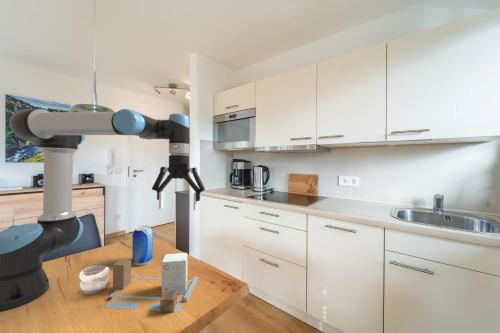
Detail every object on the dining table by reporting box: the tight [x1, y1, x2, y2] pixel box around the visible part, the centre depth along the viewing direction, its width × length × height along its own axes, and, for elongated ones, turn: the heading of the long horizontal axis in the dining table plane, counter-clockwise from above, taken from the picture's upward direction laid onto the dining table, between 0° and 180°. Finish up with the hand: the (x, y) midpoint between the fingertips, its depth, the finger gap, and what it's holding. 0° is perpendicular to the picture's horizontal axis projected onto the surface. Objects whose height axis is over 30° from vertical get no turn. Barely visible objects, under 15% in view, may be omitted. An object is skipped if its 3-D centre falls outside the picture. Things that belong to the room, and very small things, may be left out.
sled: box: [107, 259, 199, 302], centre depth 75 cm, size 29×12×10 cm, turn 87°
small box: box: [161, 252, 188, 296], centre depth 75 cm, size 8×6×13 cm
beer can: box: [131, 225, 154, 267], centre depth 96 cm, size 8×8×16 cm
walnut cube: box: [159, 291, 178, 314], centre depth 65 cm, size 4×4×4 cm
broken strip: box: [104, 300, 184, 313], centre depth 66 cm, size 24×3×1 cm, turn 87°
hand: (178, 208), depth 81 cm, fingers open, 13 cm apart
